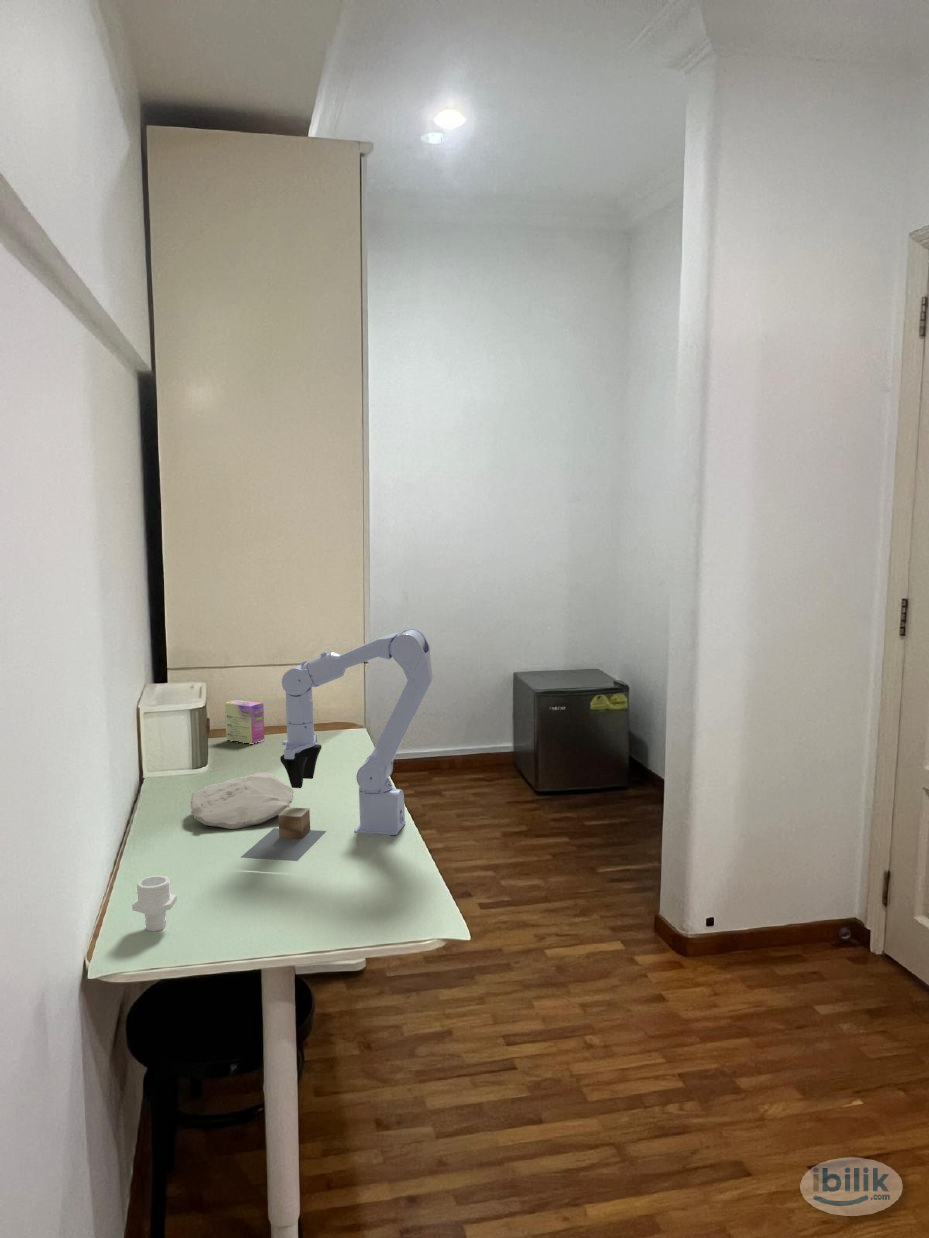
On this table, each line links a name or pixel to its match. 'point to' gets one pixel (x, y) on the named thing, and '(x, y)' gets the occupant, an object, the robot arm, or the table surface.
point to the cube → (294, 823)
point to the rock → (241, 801)
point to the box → (244, 721)
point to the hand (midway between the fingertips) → (302, 782)
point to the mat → (282, 846)
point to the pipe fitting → (154, 901)
